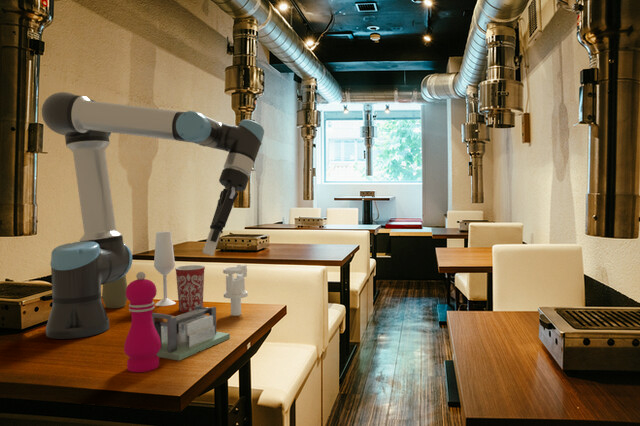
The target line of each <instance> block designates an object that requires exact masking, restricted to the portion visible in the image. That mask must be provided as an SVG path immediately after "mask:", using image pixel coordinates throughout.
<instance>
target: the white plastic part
mask: <svg viewBox="0 0 640 426" xmlns="http://www.w3.org/2000/svg"><path fill="white" fill-rule="evenodd" d="M222 273H223V274H225V289H226V290H225V292H223V298H224V299H225V298H226V299H229V300H230V316H235V317H237V316H241V315H242V299H243V298H246V297H248V291H247V290H246V285H245V284H246V283H245V281H246V280H245V278H247V277H248V267H247V264H236V266H229V267H224V268H223V269H222ZM234 275H236V278H235V277H234Z"/></svg>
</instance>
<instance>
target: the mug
mask: <svg viewBox="0 0 640 426" xmlns="http://www.w3.org/2000/svg"><path fill="white" fill-rule="evenodd" d="M174 269H175V276H176V286H177V297H178V298H177V299H178V310H179V312H183V313H187V312H190V311H193V310H195V306H197V305H201V307H204V284H205V269H206V267H205V265H198V264H191V265H189V264H188V265H181V266H177V267H175V268H174Z"/></svg>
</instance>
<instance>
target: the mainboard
mask: <svg viewBox="0 0 640 426" xmlns="http://www.w3.org/2000/svg"><path fill="white" fill-rule="evenodd" d="M230 338H231V333H230V332H229V333H228V332H221V331H216V334H215V338H214V339H211V340H209V341H207V342H204V343H202V344H199V345H197V346H195V347H192V348H190V349H189V348H183V347H177V350H176V351H174V352H171V353H169V352H168V345H164V344H162V348H161V349H160V350H159V352H158V353H157V354H156V355H157V356H158V357H159V358H163V359H167V360H173V361H182V360H184V359H185V358H186V359H187V358H188V357H191V356H193V355H196V354H197V352H198V353H200V352H202V351H204V350H207V349H209V348H211V347H213V345H214V346H216V345H217V344H221V343H223V342H225V341H228V340H230ZM206 348H207V349H206ZM199 351H200V352H199Z"/></svg>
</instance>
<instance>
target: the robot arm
mask: <svg viewBox="0 0 640 426" xmlns="http://www.w3.org/2000/svg"><path fill="white" fill-rule="evenodd" d="M41 117H42V120H43V123H44V124H45V125H46V127H48V129H50V130H51V131H52V132H55V134H59V135H62V136H64V141H65V147H66V148H67V149H69V150H70V151H71V152H72V155H73V161H74V170H75V175H76V176H75V177H76V185H77V191H78V198H79V204H80V212H81V213H80V214H81V218H82V219H81V220H82V227H83V235H82V236H81V237H80V239H79V241H75V242H72V243H64V244H60V245H57V246H56V247H55V248H53V249H52V251H51V254H50V256H51V257H50V262H49V263H50V267H51V268H50V269H51V270H50V271H51V291H52V293H51V295H52V306H51V309H50V313H49V315H48V320H47V323H46V326H45V336H46V337H47V338H50V339H54V340H55V339H57V340H70V339H72V340H73V339H80V338H87V337H91V336H95V335H98V334H99V335H100V334H101V333H104V332H107V331H108V330H109V329H110V318H109V316H108V314H107V311H106V309H105V308H106V307H105V305H104V302H102V301H103V299H102V286H103V284H105V283H109V282H114V281H116V280H118V279H120V278H122V277H123V276H124V275H126V276H127V274H128V272H129V271H130V269H131V268H132V264H133V253H132V251H131V249H130V247H129V246H127V244H125V243H124V238H123V236H124V235H123V233H121V232H119V231H118V230H117V228H116V220H115V213H114V206H113V199H112V191H111V184H110V178H109V177H110V176H109V175H110V174H109V170H108V169H109V168H108V162H107V155H106V149H107V148H108V147H109V146H110V145H111V143H110V137H111V134H120V135H129V136H130V135H131V136H137V137H145V138H155V139H162V140H170V141H176V142H177V141H178V142H185V143H192V144H196V145H199V146H200V147H201V146H202V147H207V148H211V149H216V150H219V151H220V150H221V151H224V152H228V154H227V157H226V159H225V163H224V165H223V169H222V171H221V172H220V173H221V174H220V176H219V179H218V181H219V184H220V185H221V186H223V187H224V188H223V189H222V190H221V191H220V193H219V198H218V200H217V205H216V208H215V211H214V215H213V218H212V220H211V223H210V227H209V229H210V231H208V232H209V233H208V236H207V239H206V241H205V245H204V246H203V249H202V252H201V253H203V254H205V255H208V256H211V257H213V256H214V255H215V251H216V248H217V246H218V243H219V240H220V238H221V235H222V234H223V233H224V231H223V230H224V228H225V227H226V225H227V222H228V219H229V216H230V214H231V212H232V209H233V207H234V204H235V203H236V199H237V198H238V196H239V192H243V191H245V190H246V189H247V186H248V183H249V181H250V176H251V173H252V172H254V171H255V168H254V165H255V161H256V160H257V159H256V158H257V157H258V153H259V151H260V149H261V145H262V141H263V139H264V135H265V129H264V126H262V125H261V123H258V122H257V121H254V120H251V119H242V120H241V121H240V122H239V124H237V125H233V124H228V123H224V122H220V121H217V120H215V119H212V118H210V117H209V116H206V115H205V114H203V113H201V112H199V111H194V110H188V111H180V110H179V111H178V110H170V109H163V108H154V107H144V106H137V105H129V104H128V105H127V104H120V103H119V104H118V103H111V102H110V103H109V102H104V101H96V100H93V99H90V98H89V97H87V96H84V95H78V94H74V93H70V92H67V91H64V92H63V91H60V92H55V93H53V94H51V95H49V96H48V97H47V98H46V99H45V100H44V102H43V104H42V107H41Z"/></svg>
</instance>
